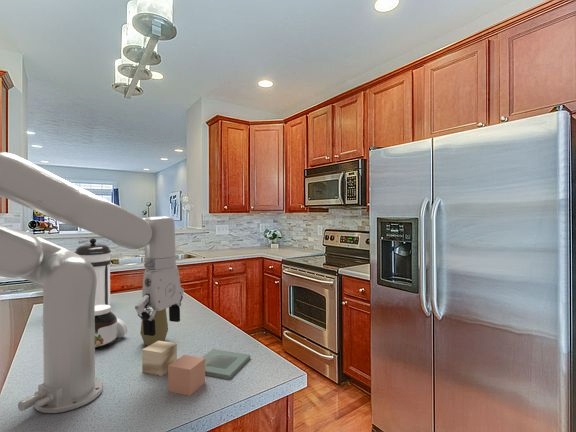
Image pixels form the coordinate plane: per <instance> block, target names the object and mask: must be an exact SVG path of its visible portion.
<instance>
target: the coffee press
mask: <svg viewBox="0 0 576 432" xmlns="http://www.w3.org/2000/svg"><path fill="white" fill-rule="evenodd" d="M89 242H90V244H84V245H81V246H78V247H77V248H76V249H75V251H73V252H74V253H76V254H78V255H80V256H82V257H84V258H85V259H87V260H88V261H89V262H90V263H91V264H92V266H93V267H94V269H95V272H96V277H97V286H96V295H95V305H110V304H111V261H112V260H111V258H114V257H116V256H115V255H114V254H113V253H112V250H111V249H110V247H109V246H108V245H106V244H99V243H97V239H96V238H91V239H89ZM110 306H111V305H110Z"/></svg>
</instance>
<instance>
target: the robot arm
mask: <svg viewBox="0 0 576 432" xmlns="http://www.w3.org/2000/svg"><path fill="white" fill-rule="evenodd" d="M0 198H5V199H7V200H10V201H12V202H14V203H17V204H19V205H21V206H23V207H26V208H28V209H30V210H32V211H34V212H37V213H39V214H41V215H44V216H46V217H48V218H51V219H53V220H55V221H57V222H60V223H62V224H65V225H69V226H72V227H76V228H80V229H82V230H85V231H87V232H90V233H93V234H95V235H97V236H98V237H99V236H100V237H102V238H104V239H106V240H108V241H111V242H112V243H113V244H114V245H117V246H118V247H122V248H125V249H128V250H139V249H143V248H144V264H143V266H144V272H143V279H142V288H141V289H142V292H141V293H142V296H141V297H142V298H141V299H140V301H138V303H136V305H135V306H134V309H135V311H136V313H137V316H138V317H139V319H140V320H141V321H142V320H143V333H144V335H149V336H154V335H155V320H154V319H153V317H154V315H155V313H156V311H161V310H163V309H165V308H166V309H168V316H169V317H168V318H169V319H168V320H169V322H174V323H179V322H180V321H181V306H182V300H183V296H184V291H185V288H183V287H182V286H181V277H180V273H179V272H180V271H179V267H178V266H177V260H176V256H177V255H176V229H175V227H176V226H175V220H174V218H173V217H171V216H166V215H164V216H149V217H141V216H139V215H137V214H135V213H133V212H131V211H129V210H127V209H125V208H124V207H121V206H119V205H118V204H115V203H113V202H111V201H109V200H107V199H105V198H103V197H100V196H98V195H96V194H95V193H92V192H91V191H89V190H87V189H84V188H82V187H80V186H78V185H76V184H75V183H72V182H70V181H68V180H66V179H64V178H63V177H60V176H58V175H56V174H54V173H52V172H51V171H49V170H47V169H44V168H42V167H41V166H39V165H37V164H35V163H33V162H31V161H29V160H27V159H25V158H23V157H22V156H19V155H16V154H14V153H11V152H7V151H5V152H4V151H0ZM74 252H75V251H72V250H69V249H67V248H64V247H62V246H60V245H57V244H56V243H53V242H51V241H49V240H46V239H44V238H42V237H39V236H36V235H34V234H32V233H30V232H28V231H25V230H20V229H11V228H9V227H6V226H4V225H2V224H0V277H2V278H7V279H8V278H9V279H10V278H11V279H17V278H21V279H24V280H26V281H28V282H32V283H35V284H37V285H40V286H42V291H43V293H42V296H43V298H42V333H43V335H42V337H43V339H42V341H43V342H42V343H43V344H42V345H43V346H42V347H43V348H42V349H43V350H42V351H43V354H42V355H43V358H42V359H43V362H42V363H43V383H40V384H39V385H37V387H38V388H37V389H38V390H37V391H35V392H34V394H33V395H31V396H28V397H25V398H24V399H22V400H21V401H18V403H17V408H18V410H19V411H20V412H23V411H25V410H28V409H29V408H31V407H33V408H35V409H36V410H37V411H38V412H40V413H44V414H58V413H65V412H68V411H69V412H70V411H72V410H75V409H78V408H80V407H83V406H85V405H87V404H89V403H91V402H92V401H94V400H96V399H97V398H98V397H99V396H100V394H101V393H102V391H103V390H104V384H103V381H102V380H101V379H100V378H96V350H95V295H96V286H97V277H96V272H95V269H94V267H93V266H92V264H91V263H90V262H89V261H88V260H87V259H85V258H84V257H82V256H80V255H78V254H76V253H74ZM149 311H151V312H150V315H149V314H148V312H149Z"/></svg>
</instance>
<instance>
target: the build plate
mask: <svg viewBox="0 0 576 432" xmlns="http://www.w3.org/2000/svg"><path fill="white" fill-rule="evenodd" d="M201 358H205V376H207V377H208V376H209V377H214V378H220V379H225V380H231V379H232V378H233V376H235V374H237V373H238V371H239V370H240V369H242V367H243V366H244V365H246V363H248V361H249V360H250V359H251V354H246V353H241V352H240V353H239V352H233V351H228V350H223V349H214V348H212V349H211V350H210V351H208V352H207V353H205V354H204V356H202V357H201Z"/></svg>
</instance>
